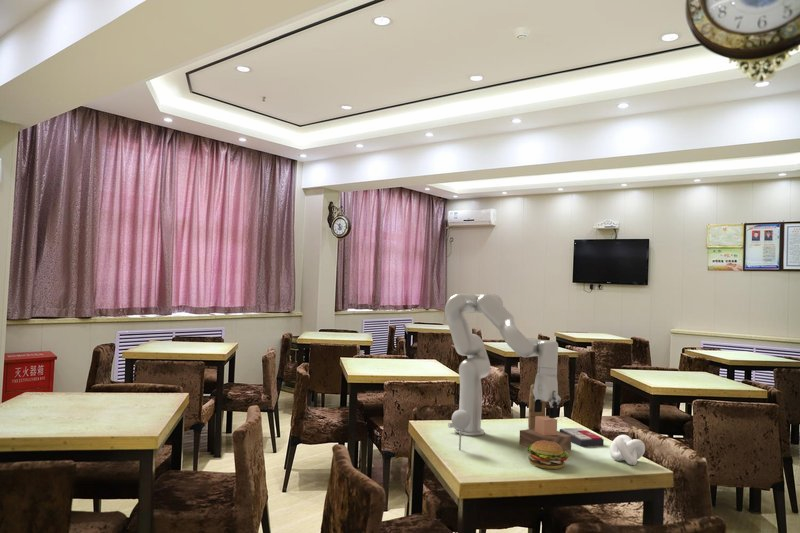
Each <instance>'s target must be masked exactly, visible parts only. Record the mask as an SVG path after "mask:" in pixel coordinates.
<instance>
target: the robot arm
mask: <svg viewBox="0 0 800 533" xmlns="http://www.w3.org/2000/svg"><path fill="white" fill-rule="evenodd" d="M444 307H445V308H444V314H445V315H444V316H445V319H446V322H447V324H448V325H447V326H448V329H449V331H450V335H451V338H452V339H451V340H452V342H453V345H454V348H455V351H456V353H457V354H458V355H459V356H465V357H467V358H465V359H464V360H463V361H461V362H460V364H459V366H458V367H459V368H458V376H459V403H458V404H459V407H458V410H465V411H466V412H468V414H469V415H470V424H469V425H468V427H466V428H464V429H461V435H463V436H473V437H475V436H482V435H484V434H485V430H484V428H482V425H481V424H482V408H483V407H482V402H483V387H482V380H481V379H483V378H486V377H488V375H489V374H490V373H491V363H490V359H489V356H488V353H487V349H486V347H485V343H484V341H483V340H482V338H481V336H479V335H478V334H476V333H471V329H470V326H469V323H468V320H467V319H466V317H465V315H464V313H465V314H470V313H471V314H483V315H484V316H485V317H486V319H488V321H490V322H491V324H492V325H493V326H495V328H496V329H497V330H498V332H499V334H500V336H501V337H502V338H503V341H504V342H505V343H506V345H507V346H509V348H511V349H512V350H513V352H514V353H515V354H517V355H518V356H519V357H522V358H524V359H525V358H531V357H537V373H536V374H535V379H534V384H535V385H534V389H533V390H532V392H533V397H534V402H535V406H534V412H542V402H541V401H545V402H546V403H547V402H548V404H549V407H548V416H549V418H555V419H557V416H558V414H557V413H558V408H559V405H560V403H561V400H562V398H561V396H560V395H559V392H558V391H559V390H558V389H559V388H558V386H559V384H558V383H559V382H558V361H559V360H558V358H559V356H558V355H559V343H558V342H557V341H555V340H550V339H549V340H547V339H540V338H539V339H538V338H535V337H526V336H525V335H524V334H523V333H522V332H521V331H520V330H519V328H518V327H517V326H516V324H515V317H514V315H513V314H512V313H511V312H510V311H509V310H508V309H507V308H506V307H505V306H504V301H503V299H502V298H501V297H500V296H499V295H497V294H495V293H483V294H481V293H480V294H479V293H478V294H477V293H476V294H473V293H463V292H462V293H456V294H454V295H451V296H450V298H448V299H447V302H445V306H444ZM447 427H448V428H449V429H452V428H453V429H454V431H455V433H456V434H459V433H460V429H458V428H456V427H455V426H454V425H453V423H452V422H449V423H448V424H447Z"/></svg>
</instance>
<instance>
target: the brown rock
mask: <svg viewBox="0 0 800 533" xmlns="http://www.w3.org/2000/svg"><path fill="white" fill-rule="evenodd" d="M534 385H535V383H532V384H530V388H529V398H528V416H527V417H528V418H527V419H528V421H527V422H528V424H527V425H528V429H535V416H547V415H546V411H547V410H546V408H547V406H546V405H547V402H545V401H541V402H542V412H534V406H535V402H534V397H533V392H532V390H533V389H534Z"/></svg>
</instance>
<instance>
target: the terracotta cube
mask: <svg viewBox="0 0 800 533" xmlns="http://www.w3.org/2000/svg"><path fill="white" fill-rule="evenodd" d="M557 431H558V419H557V418H549V415H546V416H535V432H537V433H539V434H541V435H544V436H546V435H557Z"/></svg>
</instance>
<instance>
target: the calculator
mask: <svg viewBox="0 0 800 533" xmlns="http://www.w3.org/2000/svg"><path fill="white" fill-rule="evenodd" d="M559 432H561V433H564V434H567V435H571V444H574V445H576V446H579V447H582V448H585V447H587V448H588V447H604V438H603V437H601V436H600V435H598V434H595V433H594V432H591V431H589V430H586V429H584V428H581V427H573V428H572V427H570V428H566V427H565V428H559Z"/></svg>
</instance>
